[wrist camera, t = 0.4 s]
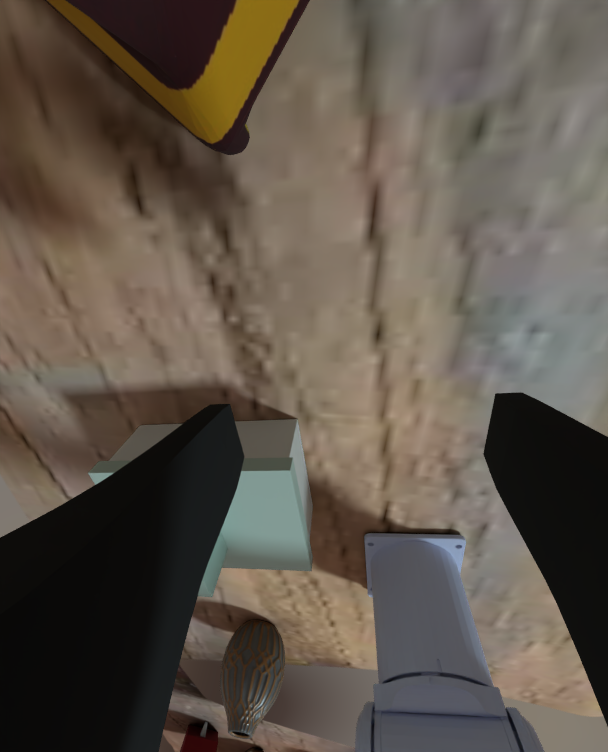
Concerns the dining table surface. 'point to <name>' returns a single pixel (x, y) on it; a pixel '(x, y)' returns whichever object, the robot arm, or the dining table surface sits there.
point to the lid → (254, 520)
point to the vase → (251, 676)
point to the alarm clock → (200, 739)
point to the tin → (254, 750)
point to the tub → (255, 442)
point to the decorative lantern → (192, 54)
